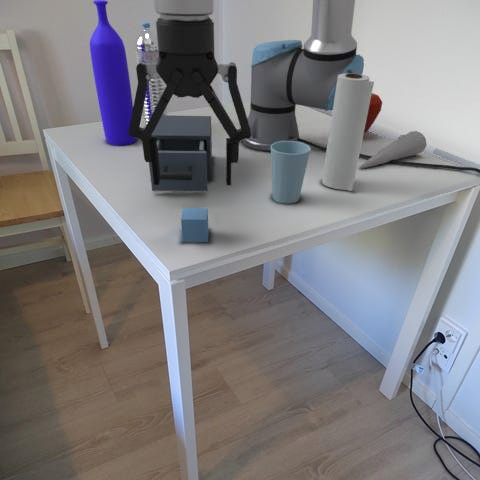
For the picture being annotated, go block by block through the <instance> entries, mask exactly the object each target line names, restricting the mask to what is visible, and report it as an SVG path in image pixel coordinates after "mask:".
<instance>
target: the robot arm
mask: <svg viewBox="0 0 480 480" xmlns="http://www.w3.org/2000/svg"><path fill="white" fill-rule="evenodd" d="M153 4H154V5H153V6H154V12H155V13H156V14H158V15H159V17H158V18H156V19H157V21H155V28H156V36H157V40H158V51H159V58H158V61H157V63H146V62H145V61H140V62H139V64H138V65H136V67H135V71H136V77H137V78H136V79H137V86H136V91H135V97H134V101H133V111H132V116H131V121H130V126H129V131H128V134H129V136H131V137H136V139H138V140H140V141H141V143H142V144H141V145H142V151H143V159H144V161H145V162H146V163H149V162H152V171H153V179H154V185H159V182H160V179H161V177H160V167H159V157H158V147H157V138H156V137H151V135H152V133H153V131H154V129H155V128H156V126H157V124H158V122H159V120H160V118H161V116H162V114H163V112H164V110H165V108H166V107H167V106H168V104H169V103H170V101H171V99H172V98H173V95H174V96H175V97H177V98H186V97H191V98H194V99H199V98H200V97H203V98H204V100H205V101H206V103H207V104H208V105H209V107H210V108H211V110H212V111H213V113H214V115H215V117H216V118H217V119H218V121H219V123H220V124H221V126H222V128H223V129H224V131H225V133H226V135H227V136H228V137H226V138H225V145H226V146H225V162H226V163H225V167H226V168H225V177H226V178H225V183H226V184H225V185H226V186H232V164H238V163H239V156H240V142H242V144H243V145H245V146H246V147H248V148H250V149H252V150H257V151H261V152H271V145H272V144H273V143H275V142H279V141H297V142H301V143H304V144H307V145H308V146H311V147H313V148H316V149H318V150H322V151H325V152H326V151H327V147H325V146H321V145H319V144H316V143H314V142H311V141H308V140H307V139H302V138H300V131H299V126H298V122H297V116H296V106H297V105H298V106H301V107H302V106H303V107H308V108H313V109H318V110H324V111H325V112H328V111H332V112H333V105H334V98H335V92H336V85H337V79H338V75H340V74H346V73H352V74H361V75H363V72H364V68H365V61H364V57H363V55H360V54H357V49H358V41H357V40H356V39H355V38H354V37H353V35H352V30H353V22H354V15H355V14H354V13H355V4H356V0H312V10H311V11H312V15H311V29H310V30H311V32H310V36H309V37H308V39H307V40H306V41H304V43H303V42H302V41H301V40H300V39H299V40H298V39H285V40H276V41H275V40H274V41H267V42H263V43H259V44H257V45H255V46H254V48H253V50H252V57H251V65H250V68H251V70H250V71H251V72H250V73H251V75H250V76H251V77H250V107H249V108H250V109H249V113H248V116H247V113H246V109H245V106H244V102H243V100H242V96H241V93H240V89H239V85H238V68H237V67H238V66H237V64H236V63H235V62H233V61H231V62H229V63H228V64H226V63H218V62H217V60H216V58H215V57H216V56H215V22H214V21H213V19H212V18H211V17H210V15H211V16H212V15H213V13H214V10H215V9H214V6H215V5H214V0H153ZM156 72H157V73H158V74H159V76H160V77H161V78H162V80H163V81H164V83H165V90H164V92H163V94H162V96H161V98H160V100H159V102H158V104H157V106H156V108H155V109H154V111H153V113H152V115H151V117H150V119H149V121H148V123H147V125H146V127H144V128H143V127H141V121H142V118H143V113H142V112H143V108H144V103H145V98H146V94H147V89H148V83H149V81H151V80H152V78H153V75H154V73H156ZM217 75H220V76H221V79H222V81H223V82H224V83H228V84H227V85H228V91H229V94H230V97H231V101H232V103H233V107H234V110H235V113H236V117H237V120H238V123H239V127H240V128H238V129H237V128H236V126H235V125H234V122H233V121H232V119H231V117H230V116H229V114H228V112H227V111H226V109H225V107H224V106H223V104H222V102H221V101H220V99H219V97H218V95H217V93H216V91H215V89H214V88H213V86H212V85H211V84H212V83H213V82H214V79H215V78H216V77H217ZM167 108H168V107H167ZM373 156H374V155H368V154H364V153H360V154H359V158H364V159H367V160H368V159H370V158H371V157H373ZM388 163H389V164H397V165H405V166H406V165H407V166H413V167H414V166H415V167H424V168H438V169H449V170H456V171H473V172H476V173H478V174H480V168H477V167H474V166H473V167H470V166H458V165H457V166H456V165H450V164H438V163H437V164H436V163H434V164H433V163H426V162H415V161H405V160H399V159H398V160H391V161H389V162H388Z"/></svg>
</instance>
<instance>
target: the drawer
mask: <svg viewBox="0 0 480 480" xmlns="http://www.w3.org/2000/svg"><path fill="white" fill-rule="evenodd" d="M157 147H158V157H159V167H160V177H161V179H160V182H159V185H154V179H153V171H152V162H148V168H149V176H150V183H151V184H150V185H151V191H153V192H208V181H207V151H205V140H183V139H157Z"/></svg>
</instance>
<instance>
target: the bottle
mask: <svg viewBox="0 0 480 480" xmlns="http://www.w3.org/2000/svg"><path fill="white" fill-rule="evenodd" d="M92 4H94V5H95V6H96V10H97V19H98V22H97V26H96V28H95V29H94V31H93V32H92V35H91V37H90V41H89V51H90V59H91V66H92V71H93V77H94V84H95V89H96V90H95V91H96V95H97V100H98V105H99V112H100V117H101V122H102V128H103V133H104V137H105V140H106V142H107V143H108V144H109V145H112V146H128V145H131V144H133V143H135V142H136V141H137V138H136V137H131V136H129V134H128V131H129V126H130V121H131V116H132V111H133V106H134V101H133V95H132V89H131V88H132V87H131V79H130V73H129V65H128V61H127V60H128V59H127V53H126V48H125V43H124V41H123V39H122V37H121V36H120V35H119V33H118V32H117V30H116V29H115V28H113V26H112V25H111V24H110V22H109V21H110V20H109V18H108V13H107V5H108V4H109V2H108V0H93V2H92Z"/></svg>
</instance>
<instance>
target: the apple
mask: <svg viewBox="0 0 480 480" xmlns="http://www.w3.org/2000/svg"><path fill="white" fill-rule="evenodd" d="M382 106H383V101H382V99H381V97H380V96H379V95H378V94H377V93H373V92H372V95H371V100H370V105H369V109H368V114H367V119H366V124H365V129H364V134H363V135H365V134H366V133H367V132H369V130H370V128H371V127H372V125H373V124H374V123H375V122H376V120H377V118H378V116H379V114H380V113H381V111H382Z"/></svg>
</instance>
